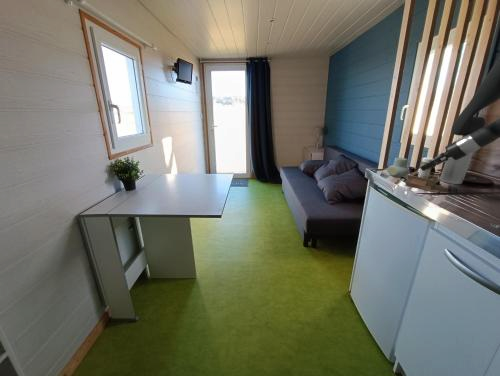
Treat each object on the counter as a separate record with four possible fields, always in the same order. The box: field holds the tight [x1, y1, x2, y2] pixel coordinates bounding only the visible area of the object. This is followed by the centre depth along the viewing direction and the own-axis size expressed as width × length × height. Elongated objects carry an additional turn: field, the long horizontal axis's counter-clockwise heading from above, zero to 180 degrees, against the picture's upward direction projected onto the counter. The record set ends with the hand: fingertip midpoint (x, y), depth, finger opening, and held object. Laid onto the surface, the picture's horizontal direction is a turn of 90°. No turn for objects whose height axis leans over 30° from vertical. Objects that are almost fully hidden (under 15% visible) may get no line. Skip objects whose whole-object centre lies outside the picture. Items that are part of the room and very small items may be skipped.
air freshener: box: [386, 157, 411, 178], centre depth 129 cm, size 11×8×10 cm
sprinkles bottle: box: [418, 157, 435, 179], centre depth 111 cm, size 5×5×14 cm
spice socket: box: [404, 171, 445, 194], centre depth 112 cm, size 12×13×5 cm
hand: (423, 167), depth 111 cm, fingers open, 8 cm apart
